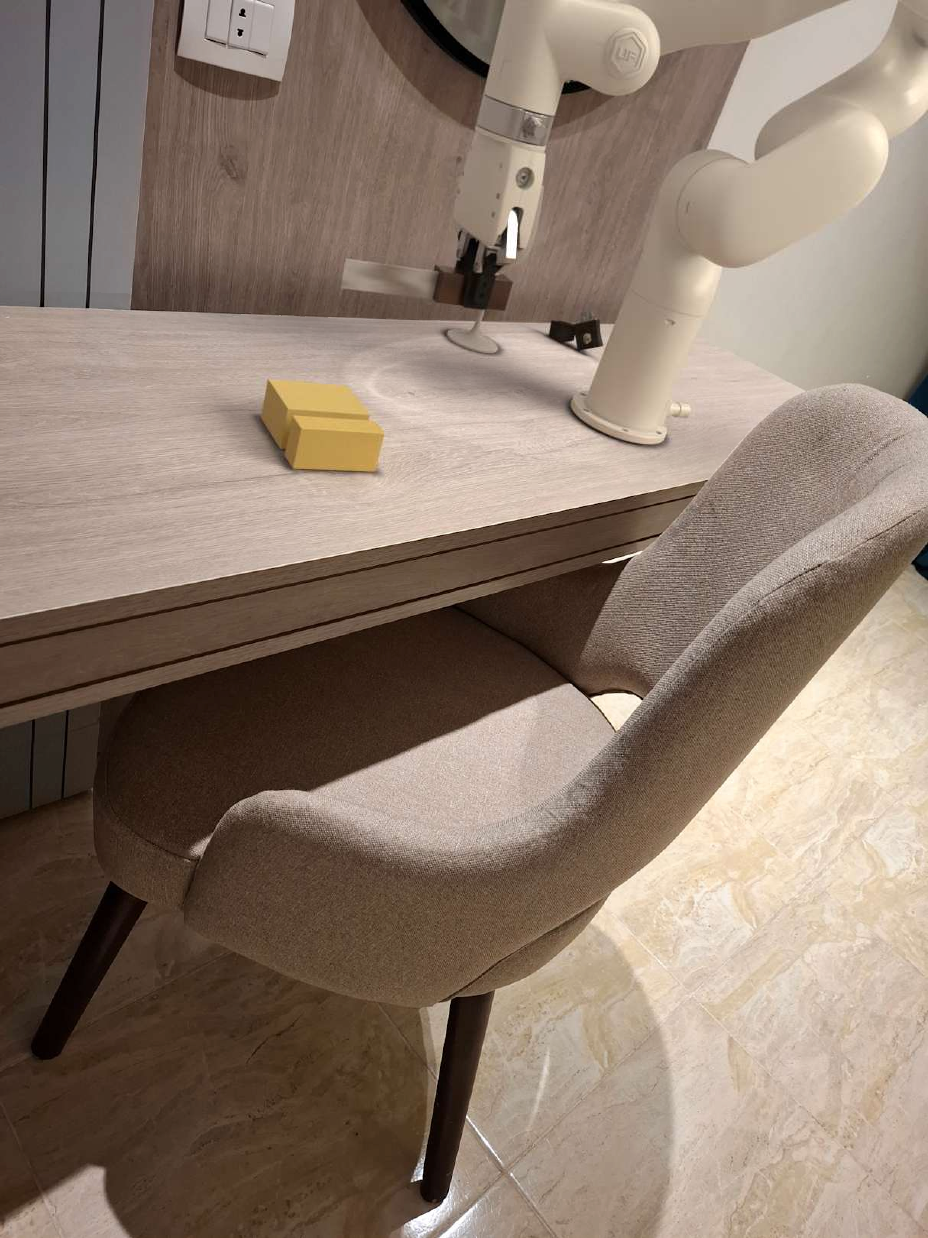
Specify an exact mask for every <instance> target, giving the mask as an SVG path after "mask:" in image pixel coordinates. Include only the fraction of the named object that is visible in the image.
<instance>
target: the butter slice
mask: <svg viewBox="0 0 928 1238" xmlns="http://www.w3.org/2000/svg"><path fill="white" fill-rule="evenodd" d="M385 435H386V434H385V431H384V430H383V428H382V427H380V425H379V423H377V421H376V420H369V421H368V420H354V419H339V418H325V417H310V416H295V415H293V416H292V421H291V426H290V431H289V436H288V441H287V446H286V449H285V452H284V457H285V459H286V461H287V462H288V464H289V465H290V466H291V467H290V468H292V469H293V470H316V471H317V470H318V471H341V472H342V471H343V472H344V471H346V472H370V473H371V472H373V473H374V472H376V469H377V466H378V465H377V464H378V461H379V458H380V457H379V456H380V454H381V450H382V445H383V442H384V438H385Z"/></svg>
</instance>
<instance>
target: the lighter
mask: <svg viewBox="0 0 928 1238" xmlns="http://www.w3.org/2000/svg"><path fill="white" fill-rule="evenodd" d="M580 315H581V319H576V321H575V323H572V322H569V321H564V320H553V319H551V320H550V325H549V332H548V337H550V338H551V339H552V340H555V341H557V342H562V343H570V342H574V341H575V344H576V350H577V352H581V351H586V350H590V349H591V350H592V349H596V348H601V347H604V342H603V338H602V334H601V333H602V332H601V320H600V319H599V318H598V317H597V318H594V313H593V312H590V311H584V312H581V314H580Z"/></svg>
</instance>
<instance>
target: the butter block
mask: <svg viewBox="0 0 928 1238" xmlns="http://www.w3.org/2000/svg"><path fill="white" fill-rule="evenodd" d="M293 415H295V416H310V417H325V418H339V419H354V420H368V421H370V417H371V414H370V412H369V411H368V410H367V409H366V407H365V406H364V404H363V403H362V402H361V401H360V400H359V399H358V397H357V396H356V395H355V393H354V392H353V391H352V390H351V389H350V387H349V386H348V385H341V384H340V385H339V384H332V383H331V384H330V383H319V382H306V381H297V380H296V381H295V380H283V379H273V378H268V379H267V382H266V387H265V393H264V400H263V405H262V411H261V416H260V419H261V421H262V423H264V425H265V427H266V428H267V430H268V432H269V433H270V435H271V436H272V439H273V440H274V442H275V443H276V445H277V446H278V448H279V449H280V450H286V446H287V441H288V436H289V431H290V426H291V421H292V416H293Z"/></svg>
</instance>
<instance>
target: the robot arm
mask: <svg viewBox="0 0 928 1238" xmlns="http://www.w3.org/2000/svg"><path fill="white" fill-rule="evenodd" d="M849 1H850V0H505V3H504V7H503V10H502V14H501V20H500V24H499V28H498V32H497V36H496V39H495V44H494V48H493V53H492V57H491V61H490V64H489V69H488V73H487V77H486V81H485V86H484V90H483V94H482V98H481V102H480V107H479V111H478V115H477V118H476V124H475V126H474V130H475V133H474V136H473V138H472V142H471V144H470V147H469V150H468V153H467V157H466V160H465V162H464V166H463V170H462V173H461V177H460V180H459V183H458V188H457V191H456V195H455V196H456V197H455V201H454V206H453V211H452V212H453V215H452V216H453V219H454V222H453V224H454V225H453V226H454V229H455V231H456V234H457V241H458V244H457V247H456V251H455V257H456V262H455V268H462V269H469V273H468V277H467V281H466V285H465V289H464V293H463V297H462V301H461V305H462V306H461V307H463V308H464V309H472V310H478V311H479V310H488V309H487V307H488V303H489V300H490V296H491V292H492V289H493V285H494V282H495V278H496V276H498V275H499V274H500V271H501V268H502V267H504V266H505V265H510V264H513V263H514V262H515V260H516V251H523V250H525V248H526V247H527V244H528V241H529V238H530V234H531V231H532V227H533V223H534V219H535V215H536V210H537V206H538V202H539V197H540V192H541V187H542V186H543V182H544V181H543V180H544V174H545V166H546V152H545V151H546V148H547V144H548V142H549V141H548V140H549V137H550V135H551V130H552V127H553V123H554V120H555V115H556V112H557V109H558V106H559V101H560V98H561V94H562V92H563V88H564V84H565V81H566V78H567V77H568V78H570V79H573V80H575V81H576V82H579V83H581V84H584V85H586V86H587V87H590V88H592V89H593V90H595V91H597V92H599V93H601V94H603V95H606V96H607V95H608V96H614V97H615V96H616V97H617V96H625V95H626V96H627V95H629V94H632V93H634V92H637V91H638V90H639V89H641V88H643V86H645V85H646V84H647V83H648V81H649V80H651V78H652V76H653V75H654V73H655V71H656V69H657V67H658V64H659V60H660V57H662V56H666V55H669V54H671V53H675V52H677V51H681V50H686V49H688V48H689V49H690V48H695V47H699V46H706V45H707V46H708V45H723V44H724V45H726V44H738V43H743V42H746V41H752V40H756V39H759V38H762V37H765V36H768V35H770V34H772V33H775V32H777V31H779V30H783V29H784V28H786V27H789V26H791V25H793V24H796V23H797V22H800V21H802V20H805V19H807V18H809V17H812V16H814V15H817V14H820V13H821V12H824V11H827V10H830V9H833V8H834V7H837V6H840V5H842V4H844V3H847V2H849ZM927 111H928V0H897V3H896V6H895V10H894V12H893V16H892V19H891V21H890V24H889V27H888V29H887V31H886V33H885V35H884V37H883V38H882V40H881V42H880V43H879V44H878V46H876V48H875V49H874V50H873V51H872V52H871V53H869V55H868V56H866V57H865V58H863V59H862V60H861V61H858V63H856V64H854V65H853V66H851V67H850V68H849V69H847V70H845V71H844V72H842V73H841V74H839V75H837V76H836V77H834V78H832V79H831V80H828V81H827V82H825V83H824V84H822V85H820V86H818V87H817V88H815V89H813V90H811V91H810V92H808V93H806V94H805V95H803V96H801V97H799V98H798V99H795V100H793V101H792V102H790V103H789V104H787V105H785V106H783V107H782V108H780V109H779V110H778V111H777V112H776V113H774V114H773V115H772V116H771V117H770V118H769V119H768V120H767V121H766V122H765V123H764V125H763V126H762V128H761V129H760V131H759V133H758V135H757V137H756V141H755V144H754V152H753V154H754V156H753V157H754V161H753V162H751V163H748V162H747V161H746V160H744V159H741V158H739V157H737V156H735V155H733V154H731V153H729V152H727V151H723V150H720V149H714V148H712V149H708V148H707V149H700V150H697V151H696V150H695V151H694V152H691V153H689V154H687V155H686V156H684V157H682V158H681V159H679V160H678V162H676V163H675V164H674V165H673V166H672V168H671V169H670V170H669V171H668V173H667V174H666V176H665V177H664V180H663V181H662V183H661V185H660V188H659V190H658V193H657V196H656V199H655V202H654V207H653V211H652V215H651V220H650V223H649V229H648V231H647V236H646V238H645V242H644V245H643V249H642V251H641V254H640V257H639V260H638V262H637V266H636V268H635V270H634V273H633V276H632V279H631V281H630V284H629V286H628V288H627V290H626V293H625V296H624V299H623V301H622V304H621V306H620V309H619V311H618V314H617V316H616V319H615V322H614V324H613V326H612V329H611V332H610V335H609V337H608V339H607V342H606V344H605V348H604V350H603V353H602V355H601V358H600V361H599V362H598V365H597V368H596V371H595V373H594V375H593V379H592V381H591V384H590V386H589V389H588V390H583V391H578V392H576V393H575V394H574V395H573V396H572V398H571V401H570V408H571V410H572V412H573V413H574V414H575V415H576V416H577V417H578V418H579V419H580V420H581V421H583V422H584V423H586V424H587V425H589V427H592V428H593V429H595V430H597V431H599V432H602V433H604V434H606V435H608V436H610V437H613V438H615V439H619V440H621V441H625V442H629V443H634V444H640V445H657V444H660V443H662V442H664V440H665V439H666V437H667V433H668V428H667V426H666V424H665V421H666V419H670V418H671V417H673V418H679V419H686V418H688V417H690V415H691V411H692V408H691V404H690V403H688V402H683V401H682V402H681V401H675V402H674V400H673V399H672V398H671V394H672V393H673V392H672V391H673V389H674V387H675V385H676V383H677V381H678V378H679V375H680V374H681V371H682V369H683V367H684V364H685V362H686V360H687V358H688V356H689V353H690V351H691V349H692V347H693V344H694V341H695V339H696V338H697V335H698V333H699V330H700V328H701V326H702V323H703V321H704V319H705V317H706V316H707V313H708V312H709V309H710V306H711V304H712V302H713V299H714V297H715V294H716V292H717V289H718V285H719V282H720V279H721V276H722V272H723V268H727V269H739V268H745V267H749V266H751V265H754V264H757V263H759V262H762V261H763V260H765V259H768V258H770V257H771V256H773V255H775V254H777V253H779V252H781V251H782V250H784V249H786V248H788V247H790V246H791V245H793V244H795V243H797V242H798V241H800V240H802V239H804V238H806V237H807V236H809V235H811V234H813V233H814V232H816V231H819V230H820V229H821V228H823V227H825V226H827V225H828V224H831V223H832V222H834V221H836V220H837V219H839V218H841V217H842V216H844V215H846V214H847V213H849V212H850V211H852V210H853V209H854V208H856V207H857V206H859V204H861V203H862V202H863V201H864V200H865V199H866V198H867V197H868V196H869V195H870V194H871V192H872V191H873V190H874V188H875V187H876V186H877V185H878V183H879V181H880V179H881V177H882V175H883V174H884V171H885V170H886V169H885V168H886V165H887V163H888V159H889V151H890V149H889V145H890V144H889V142H890V141H891V140H893V139H894V138H896V137H898V136H899V135H900V134H902V133H904V132H905V131H906V130H908V129H909V128H911V127H912V126H913V125H914V124H915V123H916V122H918V121H919V120H920V119H921V118H922V116H924V115H925V113H926V112H927ZM476 239H477V243H476ZM497 239H499V243H498V244H495V243H497ZM488 250H490V251H495V253H490V254H489V255H488V256H487V257H486V255H487V251H488Z"/></svg>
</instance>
